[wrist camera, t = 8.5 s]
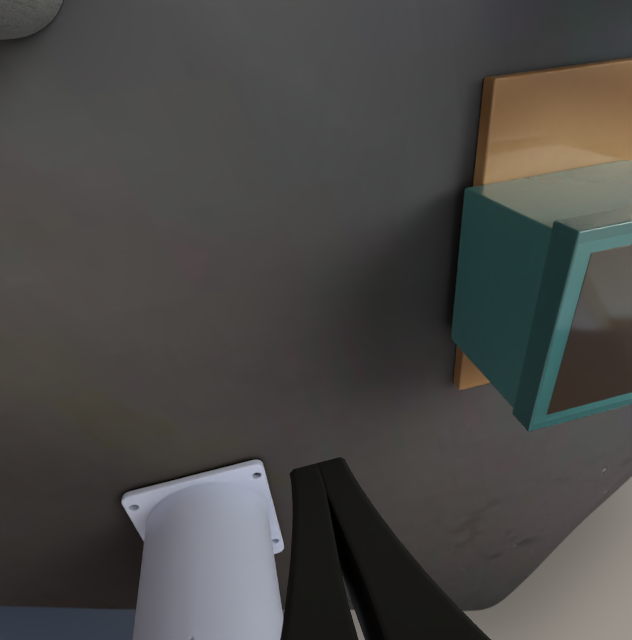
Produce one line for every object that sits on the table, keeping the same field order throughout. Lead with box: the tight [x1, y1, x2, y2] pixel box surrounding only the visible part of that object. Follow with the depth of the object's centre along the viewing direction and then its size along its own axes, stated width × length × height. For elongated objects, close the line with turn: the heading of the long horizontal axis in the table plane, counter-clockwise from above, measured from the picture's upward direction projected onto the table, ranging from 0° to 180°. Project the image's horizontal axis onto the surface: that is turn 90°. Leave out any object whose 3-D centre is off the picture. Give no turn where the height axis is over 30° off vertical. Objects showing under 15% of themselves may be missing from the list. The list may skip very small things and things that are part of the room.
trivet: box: [453, 57, 632, 390], centre depth 21 cm, size 16×12×1 cm
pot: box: [451, 160, 632, 432], centre depth 18 cm, size 9×6×8 cm
